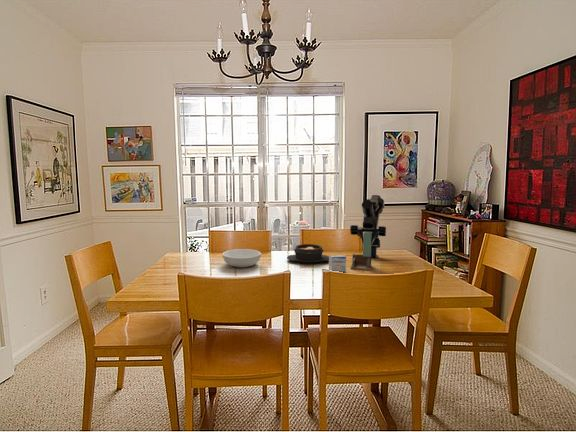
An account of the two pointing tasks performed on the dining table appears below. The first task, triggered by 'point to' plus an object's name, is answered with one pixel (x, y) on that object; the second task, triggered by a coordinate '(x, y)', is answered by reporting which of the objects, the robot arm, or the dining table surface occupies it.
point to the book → (367, 243)
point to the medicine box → (337, 263)
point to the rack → (361, 262)
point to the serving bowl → (241, 257)
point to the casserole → (308, 254)
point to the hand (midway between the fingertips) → (367, 243)
